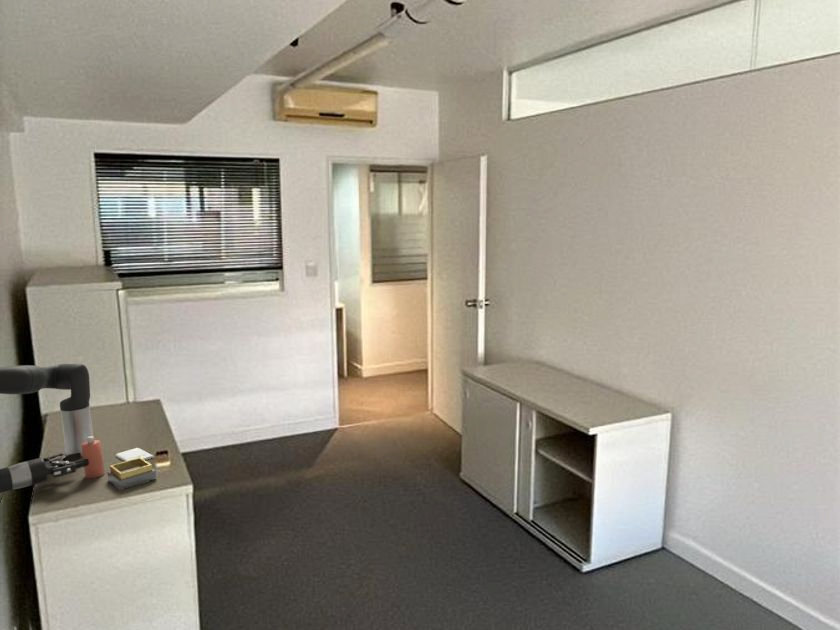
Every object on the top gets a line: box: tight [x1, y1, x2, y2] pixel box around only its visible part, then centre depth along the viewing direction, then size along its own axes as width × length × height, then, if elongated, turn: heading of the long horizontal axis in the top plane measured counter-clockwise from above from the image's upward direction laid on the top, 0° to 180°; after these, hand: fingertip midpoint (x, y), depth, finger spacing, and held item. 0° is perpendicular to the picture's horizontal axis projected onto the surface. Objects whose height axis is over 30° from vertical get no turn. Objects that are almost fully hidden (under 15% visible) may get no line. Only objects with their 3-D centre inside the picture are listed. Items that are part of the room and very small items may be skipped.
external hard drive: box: [115, 447, 155, 462], centre depth 217 cm, size 2×8×12 cm
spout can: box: [81, 435, 105, 479], centre depth 201 cm, size 6×6×13 cm
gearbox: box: [107, 457, 157, 491], centre depth 197 cm, size 11×11×5 cm
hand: (84, 458), depth 200 cm, fingers open, 8 cm apart
